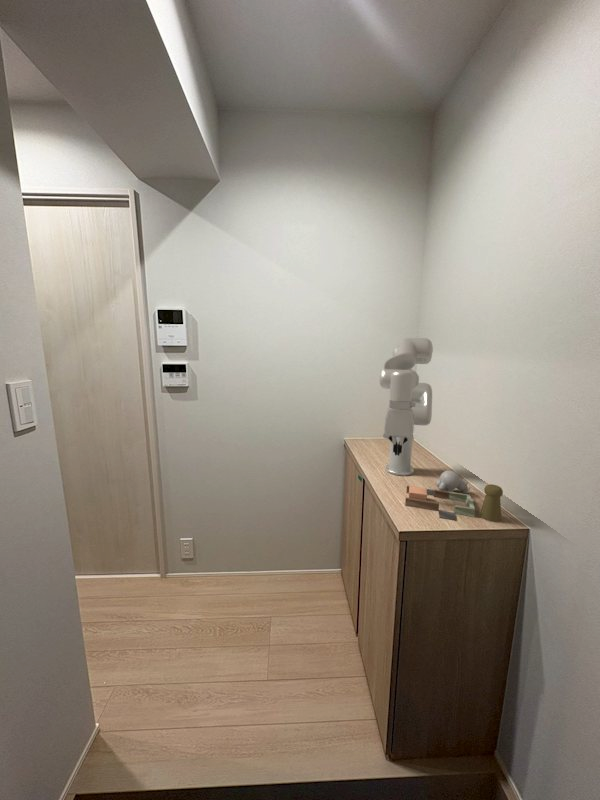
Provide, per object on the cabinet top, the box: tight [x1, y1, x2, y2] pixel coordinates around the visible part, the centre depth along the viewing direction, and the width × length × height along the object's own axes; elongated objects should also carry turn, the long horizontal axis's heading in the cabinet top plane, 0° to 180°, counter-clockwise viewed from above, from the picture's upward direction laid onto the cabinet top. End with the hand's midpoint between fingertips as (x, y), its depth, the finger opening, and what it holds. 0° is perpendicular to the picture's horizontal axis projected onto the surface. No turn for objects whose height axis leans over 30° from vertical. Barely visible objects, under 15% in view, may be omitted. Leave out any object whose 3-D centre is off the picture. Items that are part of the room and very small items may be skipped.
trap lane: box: [404, 485, 476, 522], centre depth 117 cm, size 22×22×2 cm
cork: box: [479, 483, 504, 523], centre depth 107 cm, size 6×6×11 cm
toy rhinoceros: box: [435, 469, 472, 494], centre depth 126 cm, size 7×12×8 cm, turn 81°
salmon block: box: [408, 485, 428, 501], centre depth 119 cm, size 6×6×4 cm
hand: (397, 454), depth 120 cm, fingers closed
